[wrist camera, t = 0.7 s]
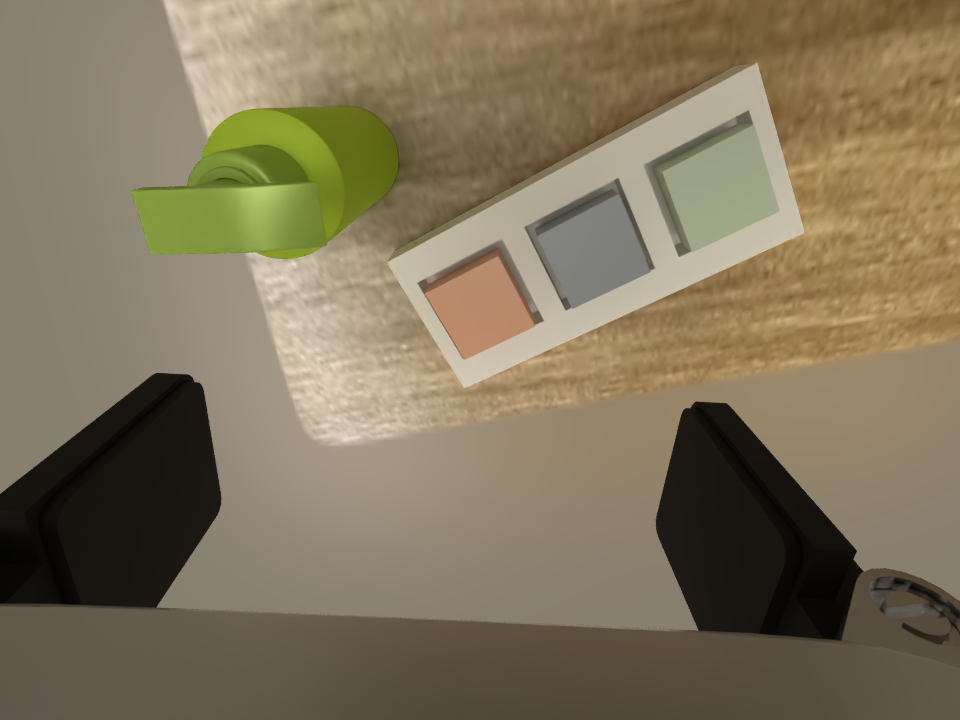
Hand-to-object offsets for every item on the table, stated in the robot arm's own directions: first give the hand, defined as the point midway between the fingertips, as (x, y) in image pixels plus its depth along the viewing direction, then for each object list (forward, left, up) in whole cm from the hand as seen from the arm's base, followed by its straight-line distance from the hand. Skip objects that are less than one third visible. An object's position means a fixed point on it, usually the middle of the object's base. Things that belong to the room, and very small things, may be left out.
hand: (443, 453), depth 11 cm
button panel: (-5, +5, -27) cm, 28 cm away
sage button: (-13, +5, -24) cm, 28 cm away
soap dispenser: (+5, -6, -27) cm, 28 cm away
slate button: (-5, +5, -24) cm, 25 cm away
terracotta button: (+2, +5, -24) cm, 25 cm away
